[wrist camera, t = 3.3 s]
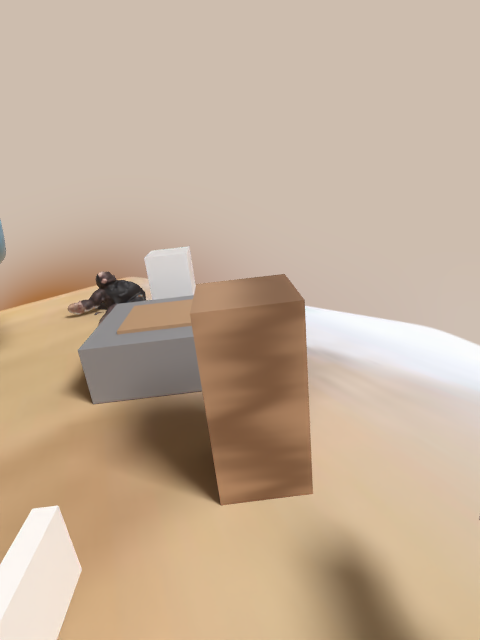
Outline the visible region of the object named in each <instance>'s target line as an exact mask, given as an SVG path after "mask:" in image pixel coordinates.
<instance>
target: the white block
mask: <svg viewBox="0 0 480 640" xmlns="http://www.w3.org/2000/svg"><path fill="white" fill-rule="evenodd" d="M144 259H145V264H146V269H147V275H148V280H149V285H150V290H151V295H152V300H156V299H165V298H174V297H182V296H191V295H194V292H195V288H196V286H195V279H194V273H193V266H192V260H191V253H190V247H181V248H172V249H163V250H155V251H151V252H150V253H149V254H148V255H147V256H146V257H145V258H144Z"/></svg>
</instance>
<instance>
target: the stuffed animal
mask: <svg viewBox="0 0 480 640" xmlns="http://www.w3.org/2000/svg"><path fill="white" fill-rule="evenodd" d="M96 283H97V286H98V287H99V289H98V290H96V291H95V292H94V293H93V294H92V296H91V297H90V299H89V300H82V301H79V302H78V303H74V304H71V305H69V307H68V311H69V312H70V313H74V314H82V313H84V312H87V311H90V310H92V309H107V311H106V313H105V315H104V316H103V317H102V318H101V319H100V322H99V325H100V324H101V322H102V321H103V320H104V319H105V318H106V317H107V315H108V314H109V313H110V312H111V311H112V309H113V308H114V307H115V306H116V305H117V304H121V303H130V302H139V301H146V296H145V292H144V291H143V289H142V288H140V286H139V285H137V284H135V283H133V282H128V281H125V280H116V278H115V276H114V275H112V274H111V273H110V272H100V273H98V274H97V276H96ZM102 302H104V303H102ZM98 313H102V312H97V313H95V315H96V314H98Z"/></svg>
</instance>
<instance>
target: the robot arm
mask: <svg viewBox="0 0 480 640" xmlns="http://www.w3.org/2000/svg"><path fill="white" fill-rule="evenodd" d="M5 254H6V248H5V240H4V235H3V230H2V225H1V220H0V263H1V262H2V261H3V260H4V258H5ZM479 520H480V516H479ZM81 570H82V568H81V566H80V563H79V560H78V558H77V555H76V552H75V550H74V547H73V544H72V541H71V539H70V536H69V533H68V531H67V528H66V525H65V523H64V520H63V517H62V514H61V512H60V509H59V506H51V507H43V508H35V509H32V510H31V512H30V514H29V516H28V517H27V519H26V521H25V523H24V524H23V526H22V528H21V530H20V531H19V533H18V535H17V537H16V538H15V540H14V542H13V543H12V545H11V547H10V549H9V550H8V552H7V554H6V556H5V557H4V559H3V561H2V563H1V564H0V640H57V638H58V635H59V632H60V629H61V627H62V624H63V621H64V618H65V615H66V613H67V610H68V607H69V604H70V601H71V598H72V596H73V593H74V590H75V587H76V584H77V582H78V579H79V576H80V573H81Z"/></svg>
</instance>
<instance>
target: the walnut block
mask: <svg viewBox="0 0 480 640" xmlns="http://www.w3.org/2000/svg"><path fill="white" fill-rule="evenodd" d="M190 318H191V324H192V330H193V336H194V342H195V349H196V355H197V361H198V367H199V373H200V379H201V386H202V392H203V398H204V404H205V410H206V417H207V423H208V429H209V435H210V441H211V448H212V454H213V460H214V466H215V472H216V479H217V485H218V491H219V497H220V503H221V505H227V504H235V503H243V502H251V501H259V500H266V499H274V498H282V497H290V496H298V495H306V494H313V487H312V463H311V440H310V417H309V393H308V370H307V347H306V323H305V302H304V299H303V298H302V296H301V295H300V294H299V292H298V291H297V290H296V288H295V287H294V286H293V284H292V283H291V282H290V280H289V279H288V278H287V277H286V275H285V274H281V275H273V276H264V277H255V278H246V279H237V280H229V281H220V282H212V283H203V284H196V288H195V292H194V297H193V301H192V306H191V311H190Z"/></svg>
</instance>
